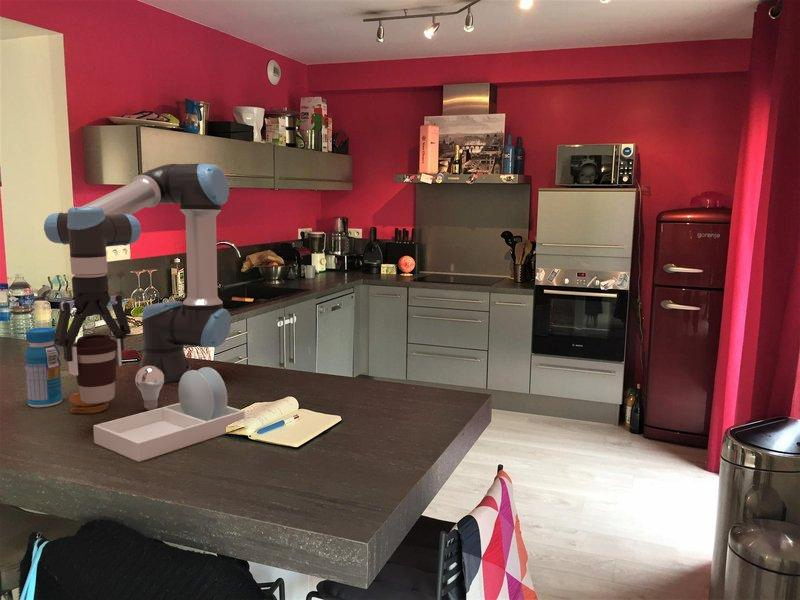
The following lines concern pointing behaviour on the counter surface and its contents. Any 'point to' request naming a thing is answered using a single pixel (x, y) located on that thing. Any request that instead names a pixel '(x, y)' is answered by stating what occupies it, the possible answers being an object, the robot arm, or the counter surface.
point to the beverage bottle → (42, 368)
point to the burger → (85, 405)
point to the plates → (203, 394)
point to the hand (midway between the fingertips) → (96, 369)
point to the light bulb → (150, 385)
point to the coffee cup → (96, 368)
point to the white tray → (160, 431)
